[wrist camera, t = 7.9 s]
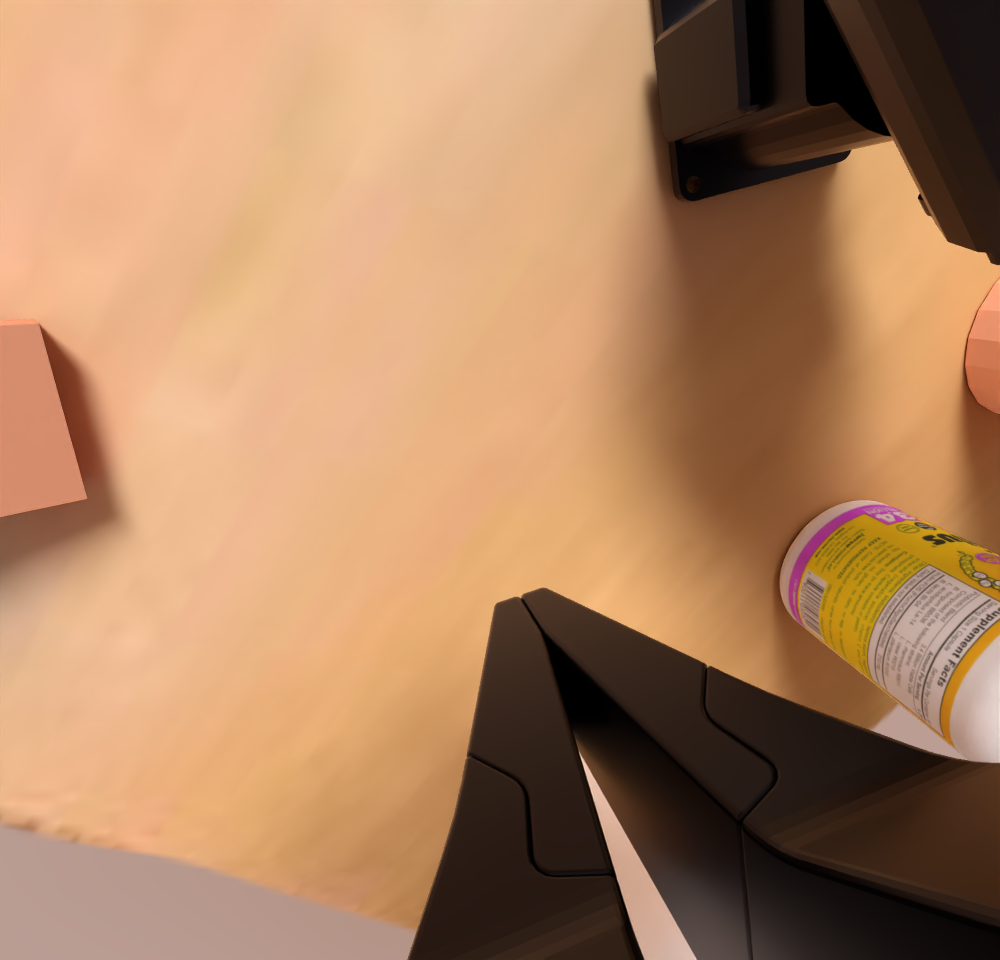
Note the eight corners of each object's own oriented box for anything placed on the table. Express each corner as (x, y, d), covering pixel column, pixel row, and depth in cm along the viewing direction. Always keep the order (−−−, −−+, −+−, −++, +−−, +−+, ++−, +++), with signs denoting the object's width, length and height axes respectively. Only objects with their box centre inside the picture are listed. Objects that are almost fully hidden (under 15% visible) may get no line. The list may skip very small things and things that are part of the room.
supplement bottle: (919, 537, 28) (1330, 738, 16) (826, 642, 29) (1151, 901, 17) (844, 466, 25) (1268, 644, 14) (744, 583, 26) (1061, 842, 15)
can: (609, 788, 29) (768, 1111, 18) (498, 760, 26) (604, 1112, 16) (680, 686, 28) (898, 965, 17) (571, 647, 25) (741, 943, 14)
